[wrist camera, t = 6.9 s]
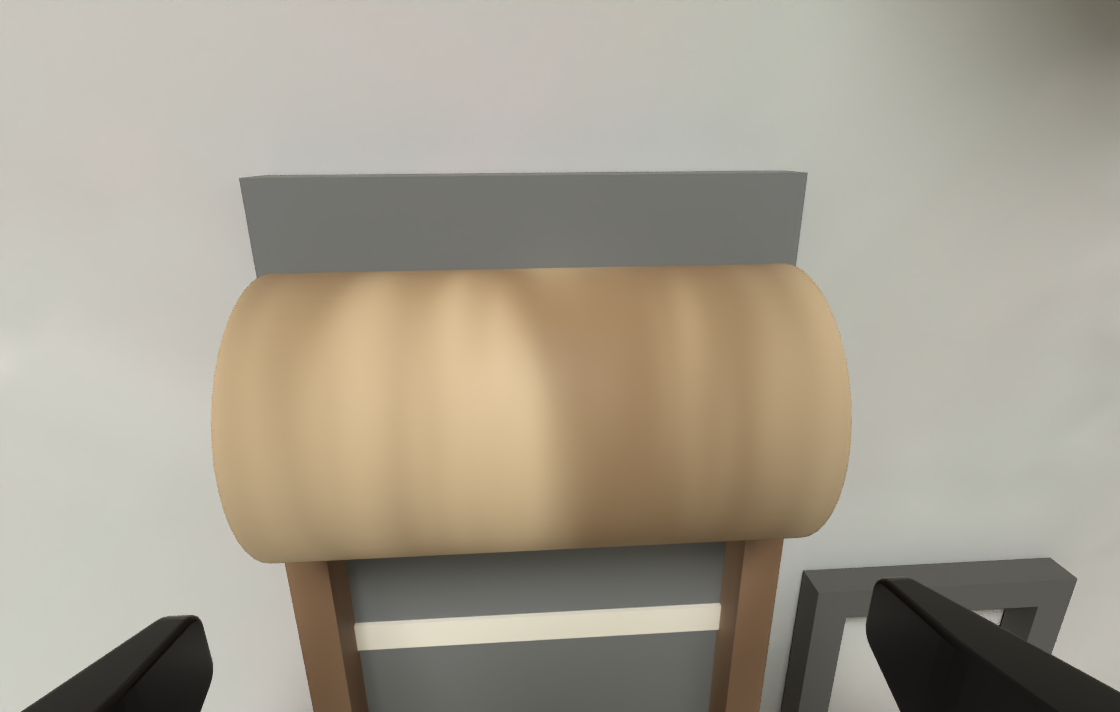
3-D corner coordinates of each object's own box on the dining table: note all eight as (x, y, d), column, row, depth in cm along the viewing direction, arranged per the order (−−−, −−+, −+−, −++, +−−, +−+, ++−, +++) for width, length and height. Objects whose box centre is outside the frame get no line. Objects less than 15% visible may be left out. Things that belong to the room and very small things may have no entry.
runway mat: (784, 170, 12) (809, 173, 11) (723, 701, 16) (737, 739, 15) (263, 175, 11) (236, 178, 10) (353, 726, 16) (342, 766, 15)
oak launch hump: (743, 243, 13) (876, 300, 8) (723, 452, 14) (823, 601, 10) (310, 250, 12) (178, 317, 7) (342, 467, 14) (250, 633, 9)
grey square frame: (1050, 558, 15) (1077, 578, 15) (990, 741, 18) (1011, 768, 17) (803, 570, 15) (818, 592, 14) (774, 757, 17) (785, 785, 16)
